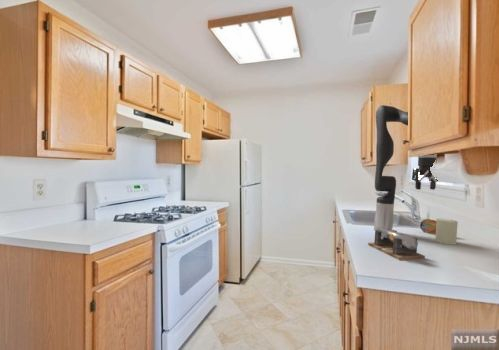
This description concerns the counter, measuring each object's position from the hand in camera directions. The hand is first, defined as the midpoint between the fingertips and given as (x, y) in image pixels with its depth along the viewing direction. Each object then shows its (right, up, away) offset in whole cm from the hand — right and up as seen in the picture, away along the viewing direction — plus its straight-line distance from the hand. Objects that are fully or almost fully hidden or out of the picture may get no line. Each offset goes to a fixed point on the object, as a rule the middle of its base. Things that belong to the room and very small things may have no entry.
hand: (425, 189), depth 132 cm
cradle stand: (-21, -28, -10) cm, 36 cm away
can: (+16, -29, +8) cm, 34 cm away
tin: (+21, -28, +24) cm, 42 cm away
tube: (-21, -24, -10) cm, 33 cm away
